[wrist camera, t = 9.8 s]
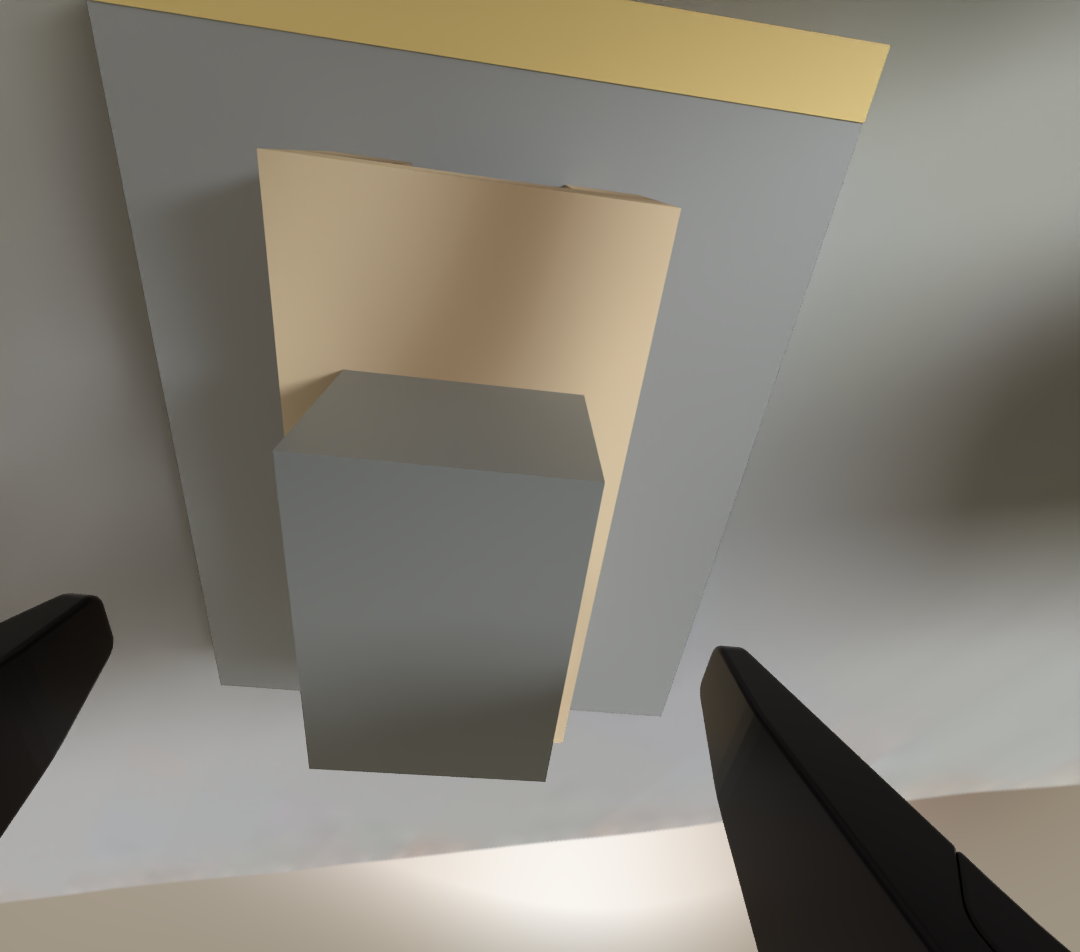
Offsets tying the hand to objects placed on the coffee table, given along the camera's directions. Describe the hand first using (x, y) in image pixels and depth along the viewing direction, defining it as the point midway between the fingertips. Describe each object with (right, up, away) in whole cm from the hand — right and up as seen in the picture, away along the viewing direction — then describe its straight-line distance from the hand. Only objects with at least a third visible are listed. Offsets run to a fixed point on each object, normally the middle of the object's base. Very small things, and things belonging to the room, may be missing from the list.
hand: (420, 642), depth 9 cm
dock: (0, +4, +8) cm, 9 cm away
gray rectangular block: (0, +1, +2) cm, 3 cm away
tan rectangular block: (0, +3, +5) cm, 6 cm away
